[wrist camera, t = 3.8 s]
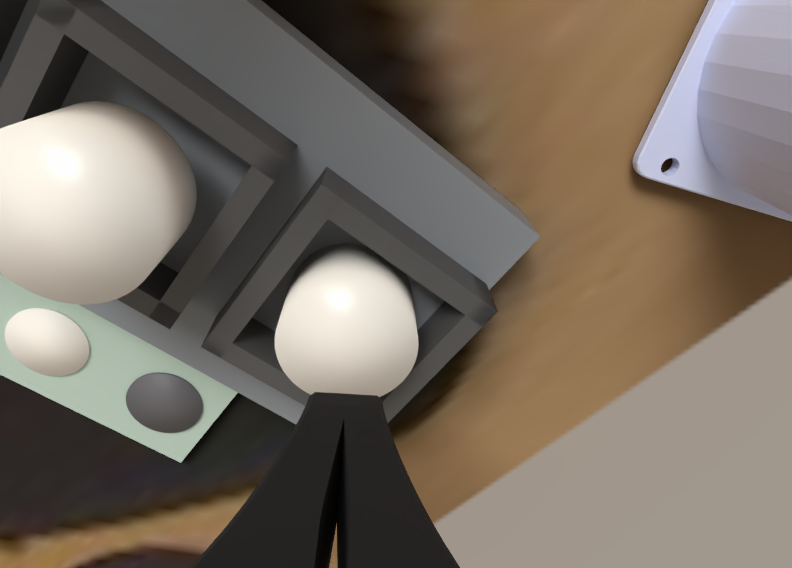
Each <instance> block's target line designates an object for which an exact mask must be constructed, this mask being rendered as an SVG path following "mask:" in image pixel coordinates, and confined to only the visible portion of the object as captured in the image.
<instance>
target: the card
mask: <svg viewBox="0 0 792 568" xmlns="http://www.w3.org/2000/svg"><path fill="white" fill-rule="evenodd" d="M0 375H2V376H4V377H6V378H8V379H10V380H12V381H15V382H17V383H19V384H21V385H23V386H25V387H27V388H29V389H31V390H33V391H35V392H37V393H39V394H41V395H43V396H45V397H47V398H49V399H51V400H53V401H55V402H57V403H60V404H62V405H64V406H66V407H68V408H70V409H72V410H74V411H76V412H78V413H80V414H82V415H84V416H86V417H88V418H90V419H92V420H94V421H96V422H98V423H100V424H103V425H105V426H107V427H109V428H111V429H113V430H115V431H117V432H119V433H121V434H123V435H125V436H127V437H129V438H131V439H133V440H135V441H137V442H139V443H141V444H143V445H145V446H148V447H150V448H152V449H154V450H156V451H158V452H160V453H162V454H164V455H166V456H168V457H170V458H172V459H174V460H176V461H178V462H180V463H181V462H182V461H183V460H184V458H185V457H186V456H187V455H188V453H189V452H190V451H191V450H192V449H193V447H194V446H195V445H196V444H197V442H198V441H199V440H200V439H201V437H202V436H203V435H204V434H205V432H206V431H207V430H208V429H209V428H210V426H211V425H212V424H213V423H214V421H215V420H216V419H217V418H218V416H219V415H220V414H221V413H222V412H223V410H224V409H225V408H226V407H227V405H228V404H229V403H230V402H231V400H232V399H233V398H234V397H235V396H236V394H237V393H238V392H236V391H234V390H233V389H231V388H229V387H227V386H225V385H223V384H222V383H220V382H218V381H216V380H214V379H213V378H211V377H209V376H207V375H205V374H204V373H202V372H200V371H198V370H196V369H194V368H193V367H191V366H189V365H187V364H185V363H184V362H182V361H180V360H178V359H176V358H174V357H173V356H171V355H169V354H167V353H165V352H164V351H162V350H160V349H158V348H156V347H155V346H153V345H151V344H149V343H147V342H145V341H144V340H142V339H140V338H138V337H136V336H135V335H133V334H131V333H129V332H127V331H125V330H124V329H122V328H120V327H118V326H116V325H115V324H113V323H111V322H109V321H107V320H105V319H104V318H102V317H100V316H98V315H96V314H95V313H93V312H91V311H89V310H87V309H86V308H84V307H82V306H80V305H78V304H70V303H63V302H58V301H55V300H51V299H47V298H45V297H42V296H39V295H37V294H34V293H32V292H30V291H28V290H26V289H24V288H22V287H21V286H19V285H17V284H16V283H14V282H13V281H11V280H10V279H8V278H7V277H6V276H4V275H3V274H2V273H1V272H0Z"/></svg>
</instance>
